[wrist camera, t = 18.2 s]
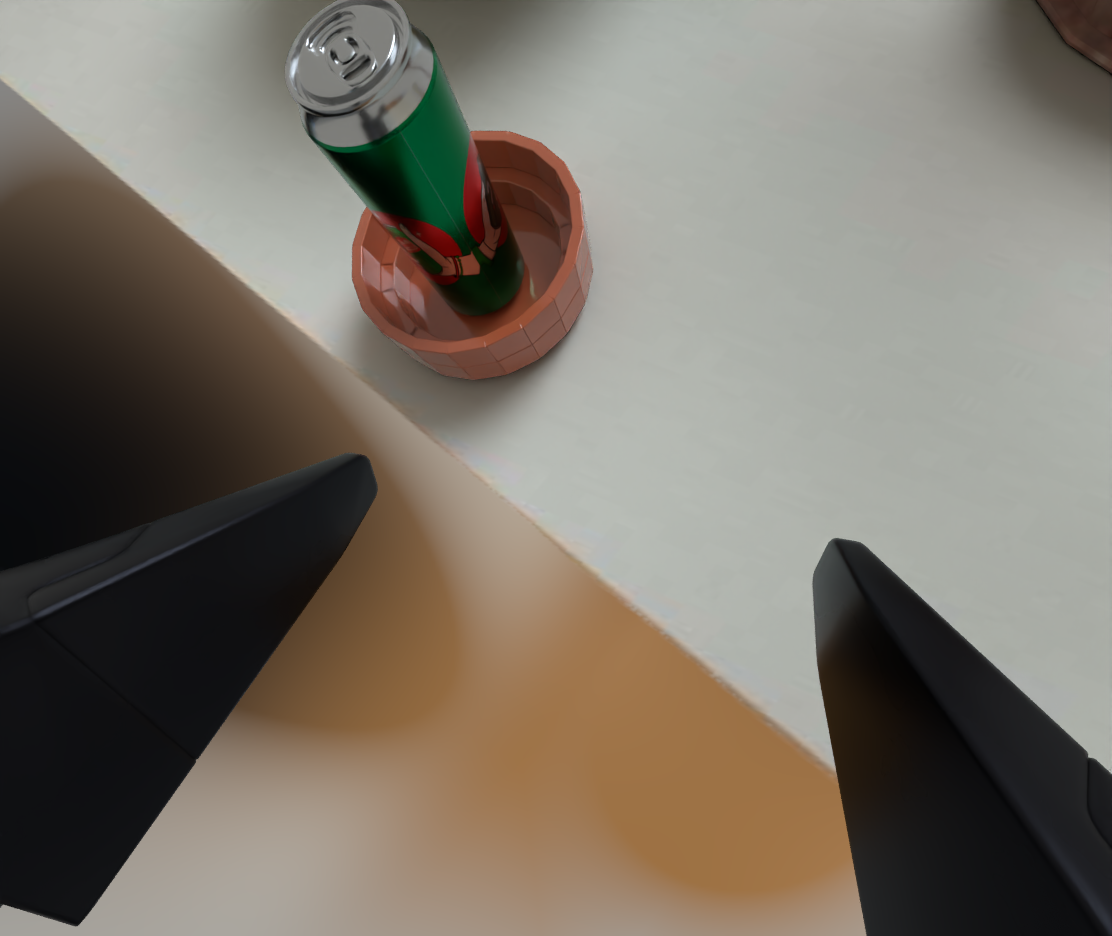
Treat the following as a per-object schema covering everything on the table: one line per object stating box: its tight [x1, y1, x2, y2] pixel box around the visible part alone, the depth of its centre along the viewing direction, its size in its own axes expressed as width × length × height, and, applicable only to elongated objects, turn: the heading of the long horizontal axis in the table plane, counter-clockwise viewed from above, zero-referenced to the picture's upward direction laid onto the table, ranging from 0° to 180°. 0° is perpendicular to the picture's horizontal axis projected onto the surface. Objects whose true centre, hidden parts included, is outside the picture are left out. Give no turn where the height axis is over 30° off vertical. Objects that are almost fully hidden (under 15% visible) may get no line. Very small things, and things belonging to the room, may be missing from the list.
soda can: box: [285, 0, 525, 316], centre depth 19 cm, size 5×5×12 cm
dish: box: [352, 131, 593, 380], centre depth 24 cm, size 12×12×4 cm
